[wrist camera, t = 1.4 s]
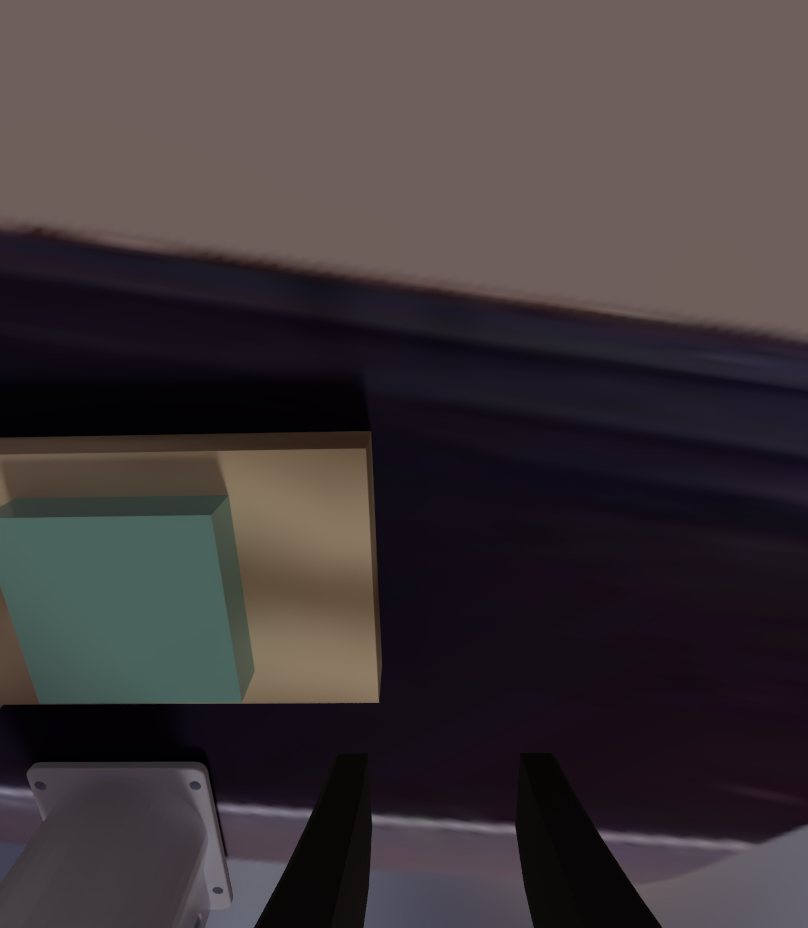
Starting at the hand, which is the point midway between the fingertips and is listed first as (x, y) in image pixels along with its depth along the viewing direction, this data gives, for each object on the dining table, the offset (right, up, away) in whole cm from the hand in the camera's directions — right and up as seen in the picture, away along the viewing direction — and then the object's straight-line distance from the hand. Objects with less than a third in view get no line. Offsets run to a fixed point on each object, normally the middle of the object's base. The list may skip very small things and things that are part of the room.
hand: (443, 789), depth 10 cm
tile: (-10, +2, +7) cm, 12 cm away
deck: (-10, +3, +9) cm, 14 cm away
